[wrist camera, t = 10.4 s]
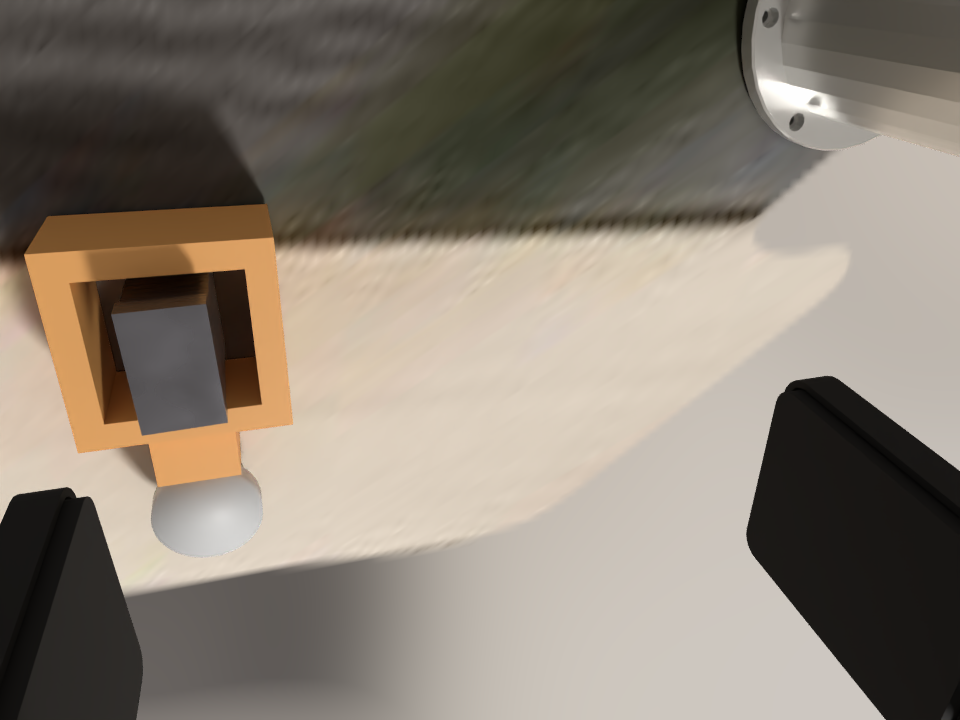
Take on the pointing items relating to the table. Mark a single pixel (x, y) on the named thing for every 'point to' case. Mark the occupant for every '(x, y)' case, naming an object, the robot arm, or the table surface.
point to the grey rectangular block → (173, 351)
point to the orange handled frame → (106, 393)
